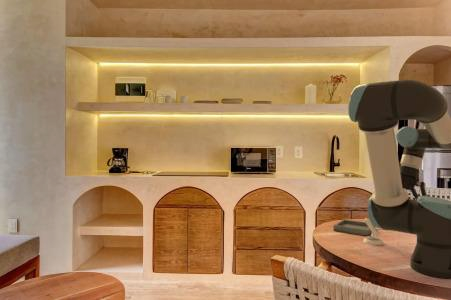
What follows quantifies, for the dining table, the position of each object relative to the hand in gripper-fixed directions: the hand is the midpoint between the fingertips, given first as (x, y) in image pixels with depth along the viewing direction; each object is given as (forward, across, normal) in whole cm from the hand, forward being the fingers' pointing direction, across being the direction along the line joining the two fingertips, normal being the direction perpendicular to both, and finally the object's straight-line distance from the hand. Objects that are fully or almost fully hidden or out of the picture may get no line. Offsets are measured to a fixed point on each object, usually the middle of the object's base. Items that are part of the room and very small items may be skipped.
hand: (396, 217), depth 139 cm
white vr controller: (+13, +6, +1) cm, 14 cm away
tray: (+12, +20, -13) cm, 26 cm away
